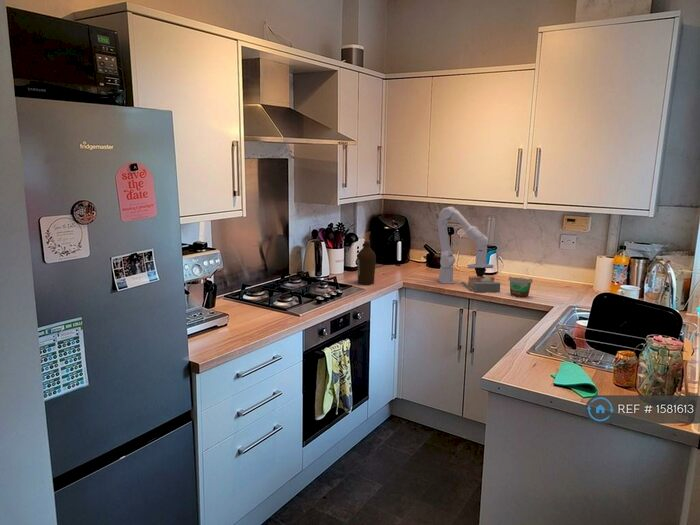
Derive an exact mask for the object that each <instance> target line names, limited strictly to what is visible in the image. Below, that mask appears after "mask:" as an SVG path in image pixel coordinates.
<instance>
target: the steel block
mask: <svg viewBox="0 0 700 525" xmlns="http://www.w3.org/2000/svg"><path fill="white" fill-rule="evenodd" d="M487 276H488V275H483V276H481V277H479V278H478V282H490V280H491V279H490V278H489V277H487Z"/></svg>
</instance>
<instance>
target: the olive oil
mask: <svg viewBox="0 0 700 525" xmlns="http://www.w3.org/2000/svg"><path fill="white" fill-rule="evenodd" d="M370 241H371V240H369V239H364V241H363V247H362V248H361V249H360V250H359V251H358V253H357V258H356V259H357V260H356V261H357V265H356V266H357V284H358V283H359V285H361V284H362V285H361V286H371V284H372V285H374V284H375V276H376V274H375V272H376V262H377V255H376V253H375V251H374V250H373V249H372V248H371V242H370Z"/></svg>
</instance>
